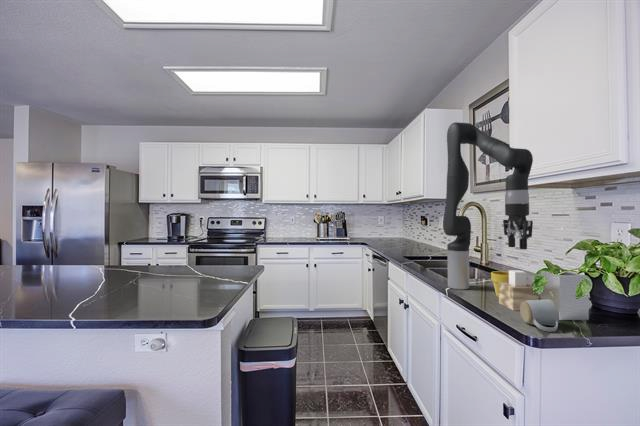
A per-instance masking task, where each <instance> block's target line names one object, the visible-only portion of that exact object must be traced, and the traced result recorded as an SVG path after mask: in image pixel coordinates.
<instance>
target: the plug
mask: <svg viewBox="0 0 640 426" xmlns="http://www.w3.org/2000/svg"><path fill="white" fill-rule="evenodd" d="M508 272H509V285H512V286H514V287H526V283H527V281H528V276H527V272H526V271H523V270H518V269H516V270H515V269H514V270H513V269H510V270H508Z"/></svg>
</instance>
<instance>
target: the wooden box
mask: <svg viewBox="0 0 640 426" xmlns="http://www.w3.org/2000/svg"><path fill="white" fill-rule="evenodd" d="M533 286H534V285H532V284H530V283H527V282H526V287H514V286H512V285H509V282H499V297H498V303H499V304H500V305H502V306H504V307H505V308H508V309H509V310H512V311H520V305H521V303H522V302H524V301H528V300H540V298H539V297H540V296H539V295H540V294H538V293H533V292H534V291H533Z"/></svg>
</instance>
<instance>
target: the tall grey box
mask: <svg viewBox="0 0 640 426" xmlns="http://www.w3.org/2000/svg"><path fill="white" fill-rule="evenodd" d="M547 271H548V270H544V271H543V270H542V271H539V272H540V275H542V276H544V277H545V278H546V279H547V280H548V282H547V283H546V284H545V289H544V291H543V292H542V293H541V292H540V300H546V299H549V300H552V301H553V302H554V303H555V305H556V307H557V309H558V312H559V321H581V320H582V321H585V320H586V321H588V320H589V318H590V317H589V295H588V296H586V297H583V298H580V299H576V298H578V297H575V295H577V293H576V291H575V290H576V288H577V286H578V284H580V282H581V281H582V280H584V279H588V280H589V276H588V275H584V274H581V273H576V272H572V271H568V272H566V273H564V274H563V275H558V274H554V273H550V272H547ZM550 291H551V292H552V294H553V297H552V296H551V294H550Z"/></svg>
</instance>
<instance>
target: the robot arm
mask: <svg viewBox="0 0 640 426" xmlns="http://www.w3.org/2000/svg"><path fill="white" fill-rule="evenodd" d="M465 144H467V145H472V146H476V147H478V149H479V150H480V151H481V152H482V153H483V154H484V155H486V156H488V157H490V158H492V159H494V160H495V161H496V162H497V163H498V164H499V165H501V166H503V167H505V168H509V169H510V168H512V169H513V173H512V174H508V175H507V176H506V177H505V193H504V194H505V195H504V214H505V216H507V217H508V218H507V219H503V221H502V223H503V224H502V225H503V234H504V236H506V237H507V243H508V244H507V245H508V248H515V247H516V234H518V237H519V243H518V244H519V249H520V250H527V249H528V239H530V238H533V226H534V225H533V224H534V223H533V220H527V216H529V215H530V193H529V176H530V173H531V169H532V165H533V162H534V159H533V158H534V157H533V155H532V152H531V151H530V150H529V149H527V148H517V147H516V148H515V147H511V146H510V144H509V143H507V142H505V141H503V140H500V139H498V138H496V137H493V136H491V135H489V134H488V133H485V132H483V131H482V130H481V129H479V128H478V127H477V126H476V125H473V124H472V123H469V122H457V121H455V122H452V123H451V124H449V126H448V129H447V132H446V146H447V147H446V149H447V170H446V172H447V173H446V194H445V206H444V207H445V208H444V214H443V222H442V223H443V224H442V227H443V231H444V232H443V233H444V234H445V236H449V237H451V236H452V237H455V236H456V238H455V239H454V240H453V241H451V242H449V243H447V247H446V248H447V250H446V251H447V252H446V253H447V257H446V258H447V287H448V288H451V289H455V290H468V289H470V251H469V250H470V246H471V236H472V235H471V233H472V224H471V220H470V218H469V217H468V216H465V215H457V209H458V206H459V204H460V202H461V200H462V199H463V198H464V196H465V194H466V193H467V192H468V190H469V183H470V177H469V176H470V172H469V169H468V166H467V165H466V163H465V160H464V159H463V156H462V149H461V148H462V146H461V145H465Z"/></svg>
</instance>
